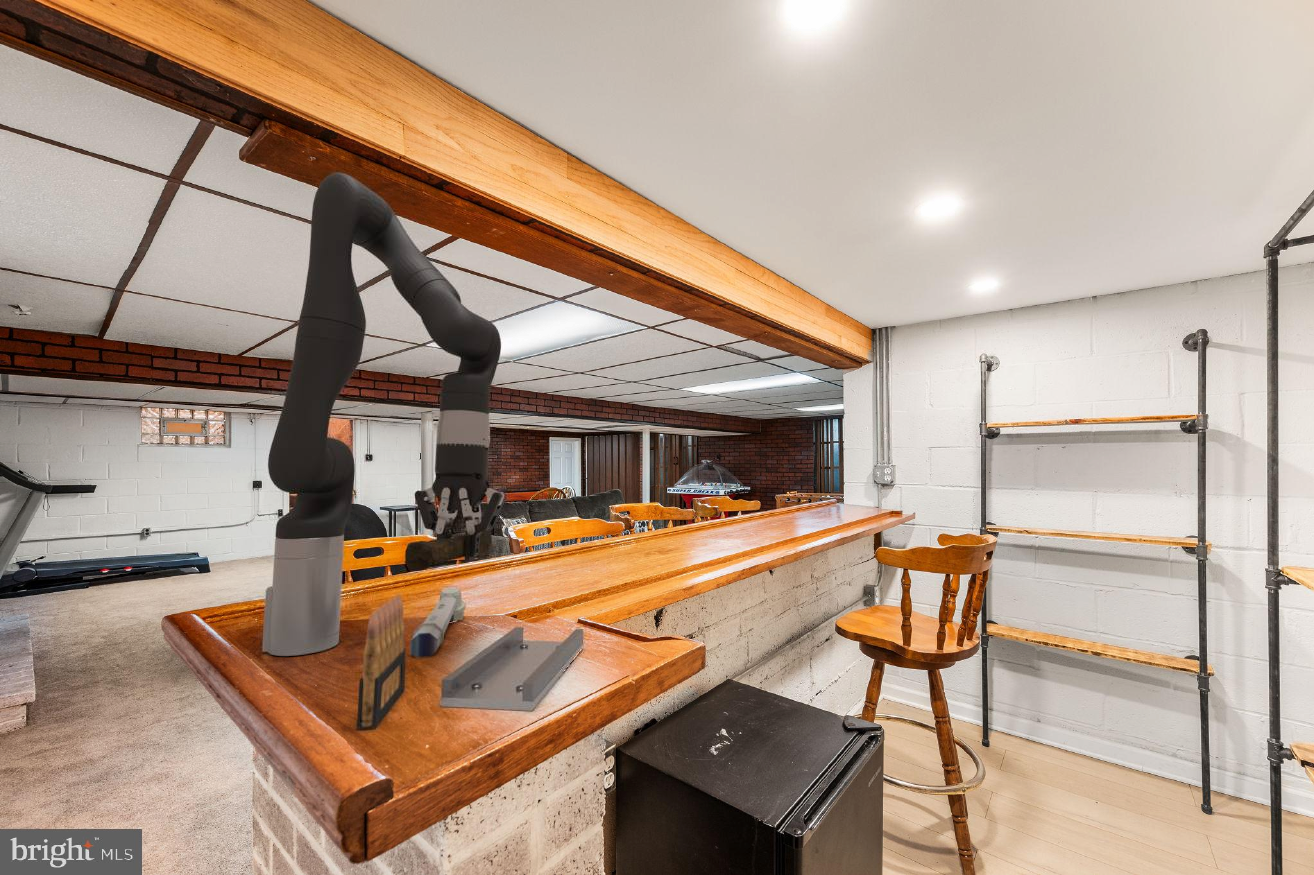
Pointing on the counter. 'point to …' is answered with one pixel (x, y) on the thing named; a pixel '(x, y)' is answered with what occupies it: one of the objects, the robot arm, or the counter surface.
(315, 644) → the robot arm
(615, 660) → the counter surface
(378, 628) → the ammunition clip
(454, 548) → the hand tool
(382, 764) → the counter surface
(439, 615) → the grey plastic handle
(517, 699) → the grey channel tray
